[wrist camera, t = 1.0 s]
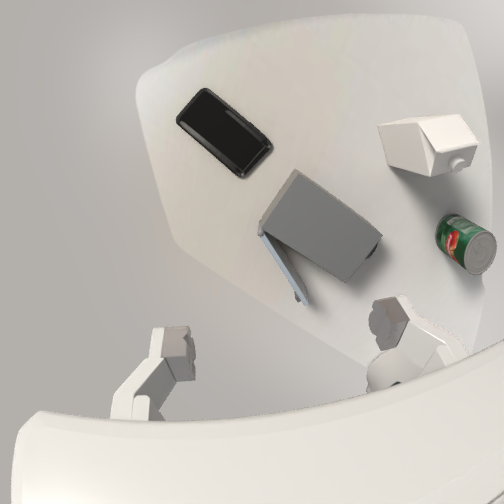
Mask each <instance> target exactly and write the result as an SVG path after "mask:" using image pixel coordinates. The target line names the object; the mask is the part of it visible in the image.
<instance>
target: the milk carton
mask: <svg viewBox="0 0 504 504" xmlns="http://www.w3.org/2000/svg"><path fill="white" fill-rule="evenodd" d="M377 126H378V129H379V133H380V136H381V140H382V143H383V147H384V151H385V154H386V158H387V162H388V165H389V166H393V167H397V168H400V169H404V170H408V171H411V172H414V173H418V174H421V175H425V176H428V177H433V176H437V175H440V174H444V173H448V172H451V171H453V172H459V171H461V170H462V169H463V168H466V167H469V166H470V165H471V162H472V160H473V157H474V154H475V151H476V148H477V145H478V144H483V142H481V141H478V140H477V139H476V137H475V136H474V134H473V133H472V132H471V130H470V129H469V127H468V126H467V124H466V123H465V122H464V120H463V119H462V118H461V116H460V115H459V114H455V115H438V116H426V117H414V118H407V119H402V120H398V121H393V122H389V123H384V124H380V125H377Z"/></svg>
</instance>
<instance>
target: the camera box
mask: <svg viewBox="0 0 504 504" xmlns="http://www.w3.org/2000/svg"><path fill="white" fill-rule="evenodd" d="M261 229H263V230H264V231H266V232H267V233H269V234H271V235H272V236H274V237H275V238H277V239H278V240H280V241H282V242H283V243H285V244H286V245H288V246H289V247H291V248H292V249H294V250H296V251H297V252H299V253H300V254H302V255H303V256H305V257H306V258H308V259H309V260H311V261H313V262H314V263H316V264H317V265H319V266H320V267H322V268H323V269H325V270H326V271H328V272H329V273H331V274H332V275H334V276H335V277H337V278H338V279H340V280H341V281H343V282H344V283H346V282H347V280H348V279H349V278H350V277H351V276H352V274H353V273H354V272H355V271H356V269H357V268H358V267H359V266H360V264H361V263H362V262H363V261H364V260H365V259H367V258H369V257H370V256H371V255H372V254H373V252H374V251H375V249H376V247H377V244H378V241H379V240H380V239H381V237H382V236H383V235H382V234H381V233H380V232H379V231H378V230H377V229H376V228H374V227H373V226H372V225H371V224H370V223H369V222H368V221H366V220H365V219H364V218H363V217H361V216H360V215H359V214H357V213H356V212H355V211H353V210H352V209H351V208H349V207H348V206H347V205H345V204H344V203H343V202H341V201H340V200H339V199H337V198H336V197H335V196H333V195H332V194H330V193H329V192H328V191H326V190H325V189H323V188H322V187H321V186H319V185H318V184H316V183H315V182H313V181H312V180H311V179H309V178H308V177H306V176H305V175H303V174H302V173H300V172H299V171H297V170H296V169H294V171H293V172H292V173H291V175H290V176H289V178H288V179H287V181H286V182H285V184H284V185H283V187H282V188H281V190H280V191H279V192H278V194H277V195H276V197H275V198H274V200H273V201H272V203H271V204H270V206H269V207H268V209H267V210H266V212H265V213H264V215H263V216H262V223H261Z"/></svg>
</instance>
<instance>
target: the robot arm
mask: <svg viewBox="0 0 504 504" xmlns="http://www.w3.org/2000/svg"><path fill="white" fill-rule="evenodd" d="M372 308H373V309H374V310H373V311H372V312H371V313H370V315H369V327H370V330H371V332H372V333H373V334H375V335H376V336H377V337H376V342H377V344H378V346H379V348H380V350H381V351H383V350H387V349H390V350H388V351H386V352H384V353H383V354H381V355H380V356H379V357H378V358H377V359H376V360H375V361H374V362H373V363H372V364H371V366H370V367H369V369H368V372H367V381H368V386H367V389H366V392H367V394H363V395H359V396H356V397H352V398H348V399H344V400H339V401H335V402H331V403H326V404H322V405H317V406H312V407H307V408H301V409H296V410H290V411H284V412H277V413H270V414H264V415H255V416H247V417H237V418H226V419H212V420H192V421H166V420H165V419H164V418H163V416H162V415H161V413H160V412H159V409H160V407H161V406H162V404H163V403H164V401H165V400H166V398H167V397H168V395H169V394H170V392H171V390H172V389H173V387H174V386H175V384H176V382H179V381H192V380H195V365H194V360H195V356H196V355H195V345H194V341H193V338H191V331H190V328H189V326H181V327H163V328H154V329H153V332H152V338H151V345H150V352H149V358H146V359H144V361H143V362H142V363H141V364H140V365H139V366H138V367H137V369H136V370H135V371H134V372H133V373H132V374H131V375H130V376H129V377H128V379H127V380H126V381H125V382H124V383H123V384H122V385H121V386H120V388H119V389H118V390H117V391H116V392H115V393H114V396H113V402H112V409H111V415H110V419H106V418H95V417H86V416H78V415H71V414H63V413H57V412H51V411H44V410H43V411H38V412H37V413H36V414H35V415H33V416H32V417H31V418H30V419H29V420H28V421H27V422H26V423H25V424H24V425H23V426H22V428H21V429H20V430H19V432H18V435H17V439H16V444H15V450H14V457H13V466H12V480H11V501H12V502H11V504H504V339H503V340H501V341H500V342H498V343H496V344H494V345H492V346H490V347H488V348H486V349H484V350H482V351H480V352H478V353H475V354H473V355H471V356H470V355H469V354H468V352H467V350H466V349H465V347H464V346H463V344H462V343H461V341H460V339H459V338H458V337H456V336H454V335H452V334H451V333H449V332H447V331H445V330H444V329H442V328H440V327H438V326H436V325H435V324H433V323H431V322H429V321H428V320H426V319H424V318H419V316H418V315H417V313H416V311H415V310H414V308H413V307H412V306H411V304H410V303H409V301H408V300H407V298H406V297H405V296H404V295H399V296H394V297H389V298H384V299H379V300H375V301H374V302H373V305H372ZM391 348H392V349H391Z"/></svg>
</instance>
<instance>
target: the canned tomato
mask: <svg viewBox="0 0 504 504" xmlns="http://www.w3.org/2000/svg"><path fill="white" fill-rule="evenodd" d="M435 239H436V243H437V246H438V247H439V248H440V249H441V250H442V251H444V252H445V253H446V254H447V255H449V256H450V257H451V258H452V259H453V260H455V261H456V262H457V263H459V264H460V265H461V266H462V267H463V268H464V269H466V270H467V271H468V272H469V273H470V274H473V275H479V274H481V273H483V272H485V271H486V270H487V269H488V268H489V267H490V265H491V264H492V262H493V260H494V258H495V254H496V247H497V245H496V240H495V237H494V236H493V234H492V233H491V232H489V231H487V230H485V229H483V228H482V227H480V226H478V225H476V224H474V223H472V222H470V221H468V220H467V219H465V218H463V217H461V216H459V215H457V214H449V215H446V216H445V217H444V218H443V219H442V220H441V221H440V222H439V224H438V226H437V229H436V234H435Z"/></svg>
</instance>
